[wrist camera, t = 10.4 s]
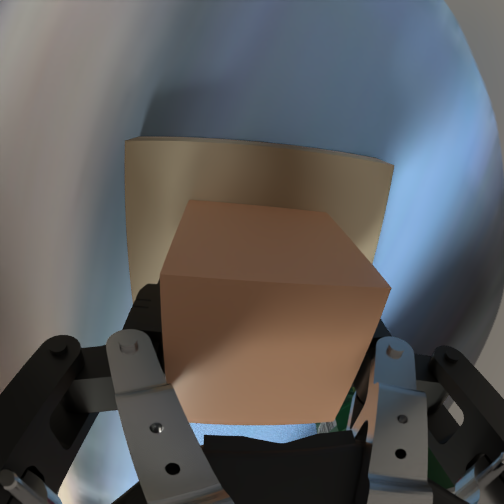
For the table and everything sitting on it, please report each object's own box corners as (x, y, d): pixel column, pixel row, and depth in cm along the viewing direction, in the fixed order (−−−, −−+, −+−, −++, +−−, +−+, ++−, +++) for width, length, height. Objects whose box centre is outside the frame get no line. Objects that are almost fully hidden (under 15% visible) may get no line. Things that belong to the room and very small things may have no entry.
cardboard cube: (188, 199, 12) (159, 273, 7) (326, 212, 13) (391, 287, 7) (185, 316, 15) (170, 420, 9) (301, 322, 15) (333, 421, 10)
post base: (147, 334, 17) (120, 432, 11) (138, 136, 13) (64, 162, 7) (331, 341, 19) (366, 434, 12) (375, 157, 14) (467, 199, 8)
